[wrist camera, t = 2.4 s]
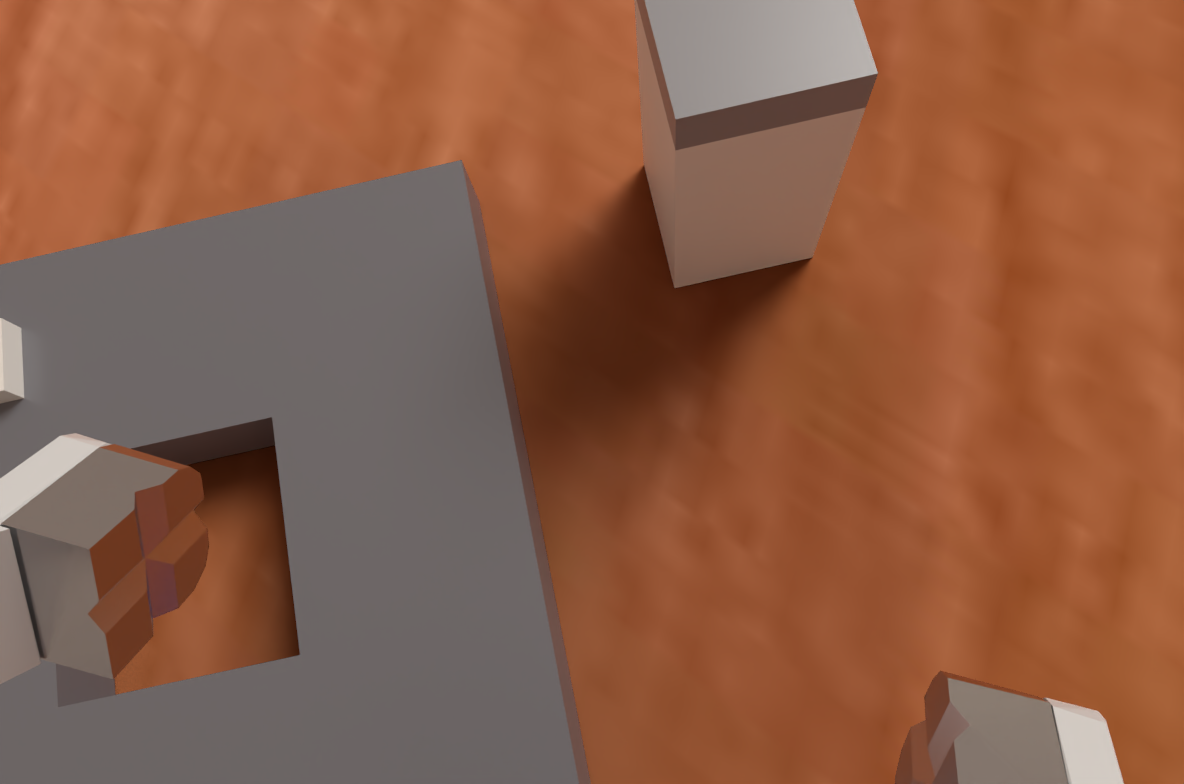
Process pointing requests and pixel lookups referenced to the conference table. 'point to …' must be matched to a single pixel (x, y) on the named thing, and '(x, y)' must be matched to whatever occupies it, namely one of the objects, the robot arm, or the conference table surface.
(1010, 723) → the robot arm
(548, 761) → the socket plate
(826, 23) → the plug
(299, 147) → the conference table surface
